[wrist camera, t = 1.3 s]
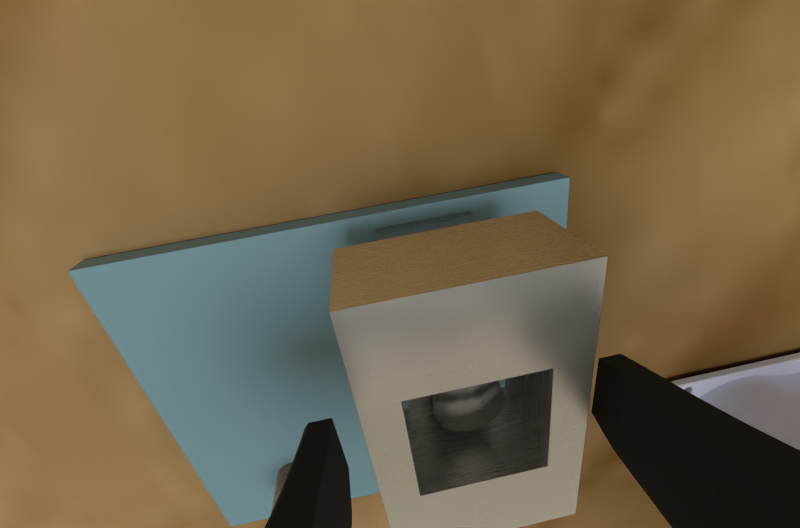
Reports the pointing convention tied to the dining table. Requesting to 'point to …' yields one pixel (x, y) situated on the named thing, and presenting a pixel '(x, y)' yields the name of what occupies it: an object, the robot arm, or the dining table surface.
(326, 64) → the dining table surface
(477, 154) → the dining table surface
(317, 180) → the dining table surface
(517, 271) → the silver block with hole
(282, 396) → the board
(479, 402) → the metal knob block
